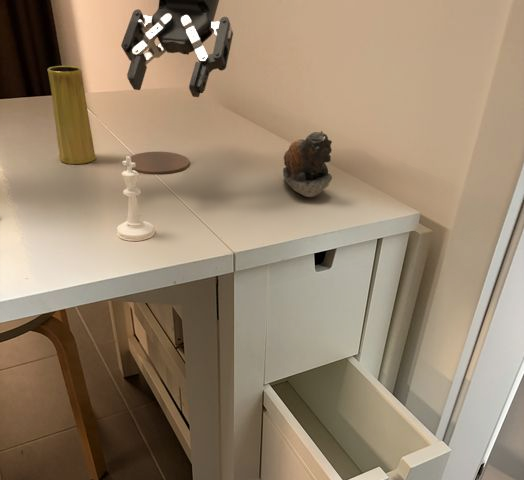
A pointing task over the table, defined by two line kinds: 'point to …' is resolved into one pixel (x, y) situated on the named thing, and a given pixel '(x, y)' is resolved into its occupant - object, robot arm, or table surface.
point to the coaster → (159, 162)
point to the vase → (71, 115)
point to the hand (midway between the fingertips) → (163, 89)
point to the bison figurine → (308, 164)
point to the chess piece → (133, 209)
